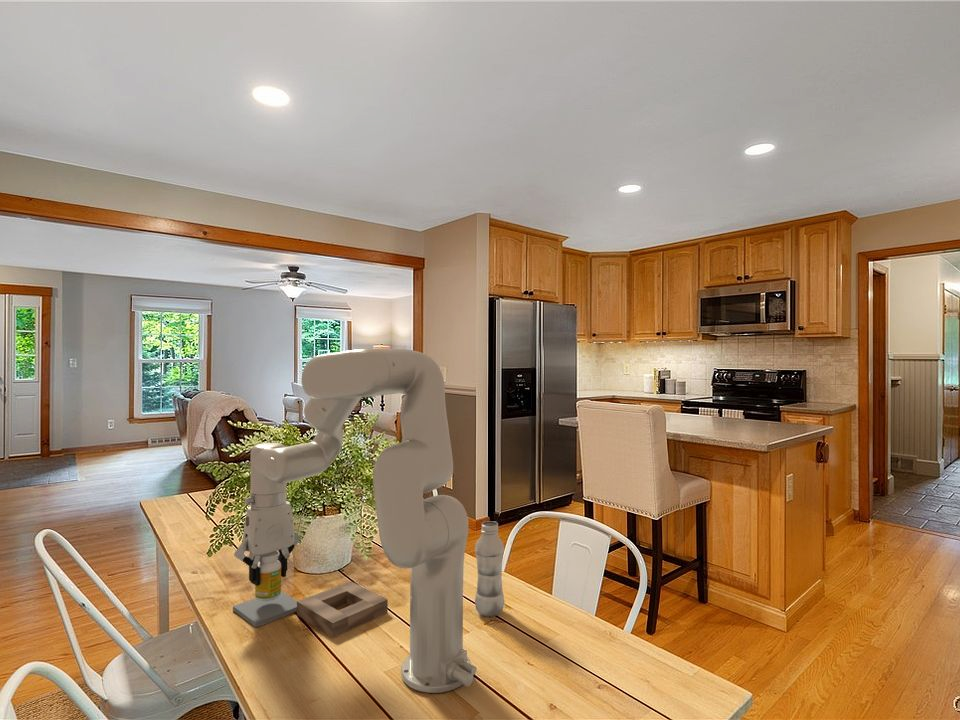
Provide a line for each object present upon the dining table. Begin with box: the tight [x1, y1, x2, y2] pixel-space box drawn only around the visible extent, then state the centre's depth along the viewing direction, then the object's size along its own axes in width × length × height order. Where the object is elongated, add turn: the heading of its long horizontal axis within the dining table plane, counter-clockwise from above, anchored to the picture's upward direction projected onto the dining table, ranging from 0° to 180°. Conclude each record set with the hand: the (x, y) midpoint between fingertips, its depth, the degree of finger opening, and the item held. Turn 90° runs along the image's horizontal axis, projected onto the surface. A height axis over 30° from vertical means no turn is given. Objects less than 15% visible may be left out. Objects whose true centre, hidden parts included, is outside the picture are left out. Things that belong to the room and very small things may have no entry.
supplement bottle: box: [254, 551, 282, 601], centre depth 118 cm, size 5×5×10 cm
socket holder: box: [296, 581, 389, 639], centre depth 117 cm, size 14×14×3 cm
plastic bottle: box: [474, 520, 505, 618], centre depth 117 cm, size 6×7×20 cm
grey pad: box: [232, 590, 298, 628], centre depth 118 cm, size 11×11×1 cm
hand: (268, 578), depth 118 cm, fingers closed on supplement bottle, 5 cm apart
